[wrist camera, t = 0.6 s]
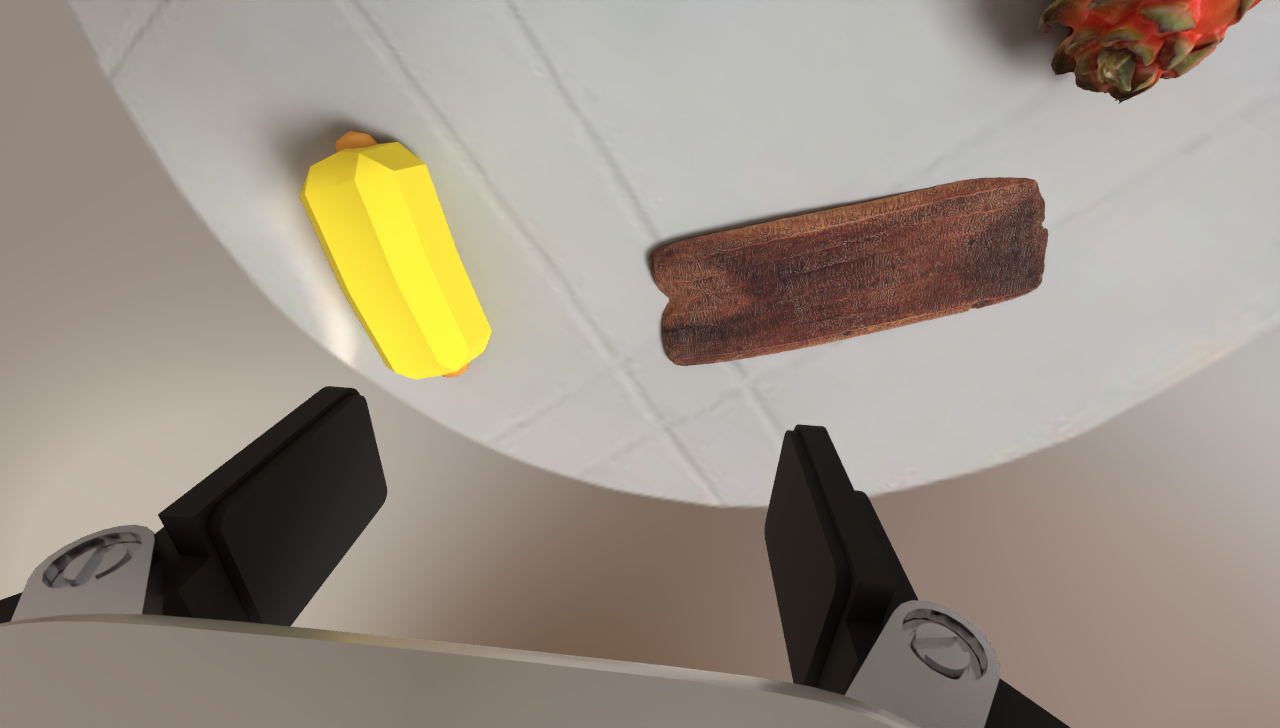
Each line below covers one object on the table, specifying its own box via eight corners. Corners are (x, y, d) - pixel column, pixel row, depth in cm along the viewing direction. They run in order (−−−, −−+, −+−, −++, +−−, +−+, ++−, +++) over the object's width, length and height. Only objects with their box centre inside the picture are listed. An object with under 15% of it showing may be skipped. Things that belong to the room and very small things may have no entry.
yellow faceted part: (425, 373, 41) (511, 356, 40) (383, 416, 35) (481, 399, 34) (316, 143, 34) (417, 114, 32) (238, 150, 28) (358, 114, 26)
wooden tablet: (1069, 159, 30) (1058, 318, 33) (1045, 161, 32) (1037, 309, 35) (641, 246, 34) (668, 378, 37) (644, 242, 36) (669, 368, 40)
